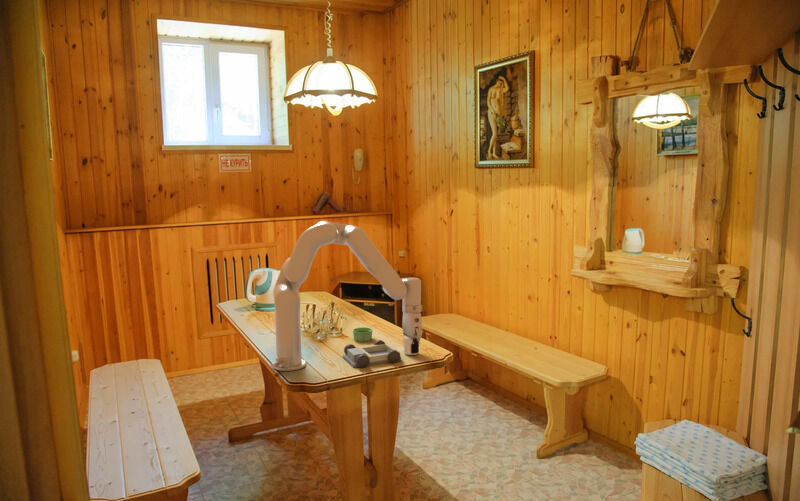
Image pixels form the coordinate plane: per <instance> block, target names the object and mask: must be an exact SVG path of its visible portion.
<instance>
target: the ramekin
mask: <svg viewBox="0 0 800 501" xmlns="http://www.w3.org/2000/svg"><path fill="white" fill-rule="evenodd" d="M352 333H353V340H354V341H355V342H360V343H364V342H369V341H371V340H372V338H373V328H370V327H365V326H364V327H362V326H361V327H356V328H354V329H353V328H352Z"/></svg>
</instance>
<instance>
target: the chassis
mask: <svg viewBox="0 0 800 501" xmlns="http://www.w3.org/2000/svg"><path fill="white" fill-rule="evenodd" d="M343 352H344V354H343V355H342V358H343V359H344V360H345V361H346V362H347V363H348V364H349V365H350V366H351V367H352V368H353V369H355V368H361V369H365V368H367V367H368V366H374V365H380V364H386V363H392V364H397V363H398V362H401V361H402V356H401V352H400V351H399V350H398V349H396V348H395V347H393V345H390V344H389V343H386V342H385V341H384V340H382V339H378V340H376V341H375V342H374V343H373V345H368V346H359V347H356V346H355V345H354V344H352V343H348V344H346V345H345V346H344V349H343Z"/></svg>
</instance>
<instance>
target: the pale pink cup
mask: <svg viewBox="0 0 800 501" xmlns="http://www.w3.org/2000/svg"><path fill="white" fill-rule="evenodd" d="M413 336H416V335H413ZM402 339H403V350H404V354H405V355H408V356H414V355H418V354H419V352H418V353H413V354H412V353H411V344H412V339H411V337H410V336H409V335H404V334H403V335H402ZM415 339H416V338H414V340H415Z"/></svg>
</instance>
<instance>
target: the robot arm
mask: <svg viewBox="0 0 800 501" xmlns="http://www.w3.org/2000/svg"><path fill="white" fill-rule="evenodd" d="M331 244H335V245H341V246H342V245H343V246H347V247H348V248H349V250H350V251H351V252H352V254H354V256H355V257H356V258H357V260H358V261H359V262H360V264H361V265H362V267H363V268H364V269H365V270H367V271H368V272H369V274H371V275H372V276H373V277H374V278H375V279H376V280H377V281H378V282H379V283H380V285H381V287H382V291H383V292H384V293H385V294H386V295H387V296H389V297H390V298H391V299H392V300H395V301H399V300H402V304H401V306H402V310H401V311H402V322H401V323H402V324H401V326H402V328H401V329H402V334H403V336H404V335H409V336H410V337H411V339H412V344H411V353H412V354H413V353H418V354H419V353H420V352H419V350H420V349H419V348H420V346H419V345H420V341H421V339H422V335H423V323H422V321H423V320H422V314H421V311H422V303H421V302H422V281H421V279H420V278H418V277H410V276H409V277H400V275H399V274H398V273H397V271H396V270H395V269H394V268H393V267H392V265H390V263H389V262H388V260H387V259H386V258H385V257H384V255H383V254H382V253H381V252H380V250H379V249H378V248H377V247H376V245H375V244H374V242H373V241H372V240H371V239H370V237H369V235H368V234H367V233H366V232H365V231H364V230H363V228H360V227H359V226H356V225H352V224H344V223H339V222H333V221H328V220H321V221H318V222H316V224H314V225H312V226H310V227H309V228H307V229H306V230H304V231H303V232H302V233H301V235H300V236H299V237H298V238H297V241H296V242H295V245H294V247H293V250H292V252H291V254H290V257H288V258H286V260H285V261H284V262H283V264H282V267H281V268H280V271H279V274H278V277H277V280H276V282H275V285H274V288H273V291H272V297H273V302H274V303H273V304H274V328H275V345H276V346H275V348H276V356H275V361H273V362H272V363H270V367H271V369H274V370H277V371H283V372H292V371H296V370H300V369H303V368H304V367H306V366H307V361H306V360H305V359H303V358H302V333H301V332H302V329H301V327H302V326H301V296H300V293H299V290H300V288H301V286H302V283H304V282H305V281H306V280H307V279H308V277H309V274H310V271H311V268H312V266H313V262H314V259H315V257H316V254H317V253H318V251H319V249H320V248H321V247H323V246H325V245H331ZM413 335H416V336H413ZM414 338H416V339H415V340H414Z"/></svg>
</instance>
